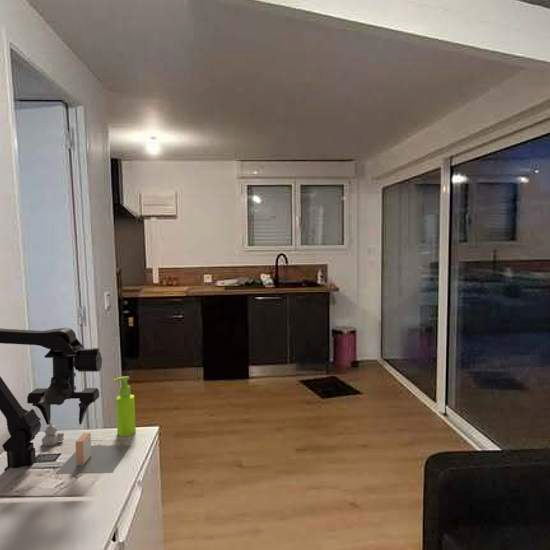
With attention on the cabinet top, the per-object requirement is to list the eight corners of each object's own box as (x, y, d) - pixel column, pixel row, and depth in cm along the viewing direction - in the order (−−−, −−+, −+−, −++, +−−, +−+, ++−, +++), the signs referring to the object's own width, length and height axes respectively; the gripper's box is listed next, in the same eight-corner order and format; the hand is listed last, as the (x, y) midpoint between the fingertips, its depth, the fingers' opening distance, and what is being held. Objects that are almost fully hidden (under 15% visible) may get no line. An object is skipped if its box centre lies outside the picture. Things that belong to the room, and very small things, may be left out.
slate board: (54, 476, 130) (54, 473, 130) (80, 448, 148) (80, 446, 148) (112, 475, 130) (112, 472, 130) (131, 447, 148) (131, 445, 148)
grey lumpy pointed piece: (43, 443, 153) (42, 419, 152) (65, 440, 155) (64, 416, 154) (40, 450, 147) (39, 425, 147) (63, 447, 149) (62, 422, 149)
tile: (76, 465, 135) (75, 441, 135) (84, 455, 141) (83, 433, 141) (84, 464, 135) (82, 441, 135) (91, 455, 141) (90, 433, 141)
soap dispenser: (111, 435, 158) (109, 377, 157) (131, 429, 163) (128, 373, 161) (119, 440, 154) (117, 380, 152) (138, 434, 158) (136, 376, 157)
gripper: (16, 380, 128) (18, 435, 129) (86, 379, 129) (87, 434, 130) (35, 369, 139) (36, 420, 140) (99, 368, 140) (100, 420, 141)
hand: (64, 424), depth 137 cm, fingers open, 9 cm apart
